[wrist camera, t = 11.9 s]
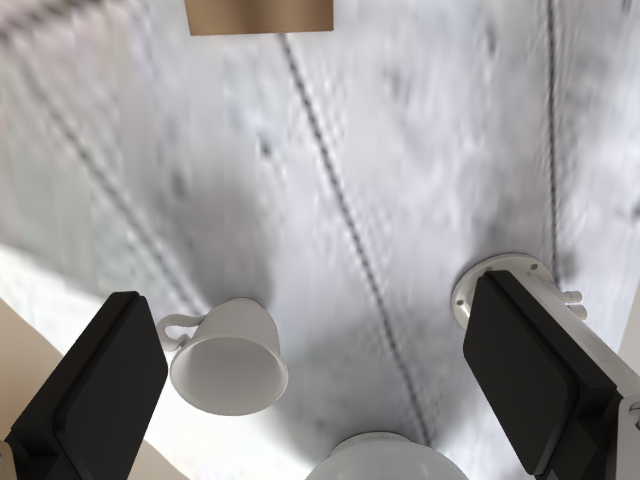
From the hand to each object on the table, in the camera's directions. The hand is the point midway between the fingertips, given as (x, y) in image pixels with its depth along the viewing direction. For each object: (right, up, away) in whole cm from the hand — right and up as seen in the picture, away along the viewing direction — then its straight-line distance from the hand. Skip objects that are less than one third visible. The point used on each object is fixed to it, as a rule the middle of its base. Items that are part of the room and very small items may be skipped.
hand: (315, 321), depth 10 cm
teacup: (-11, -6, +35) cm, 37 cm away
